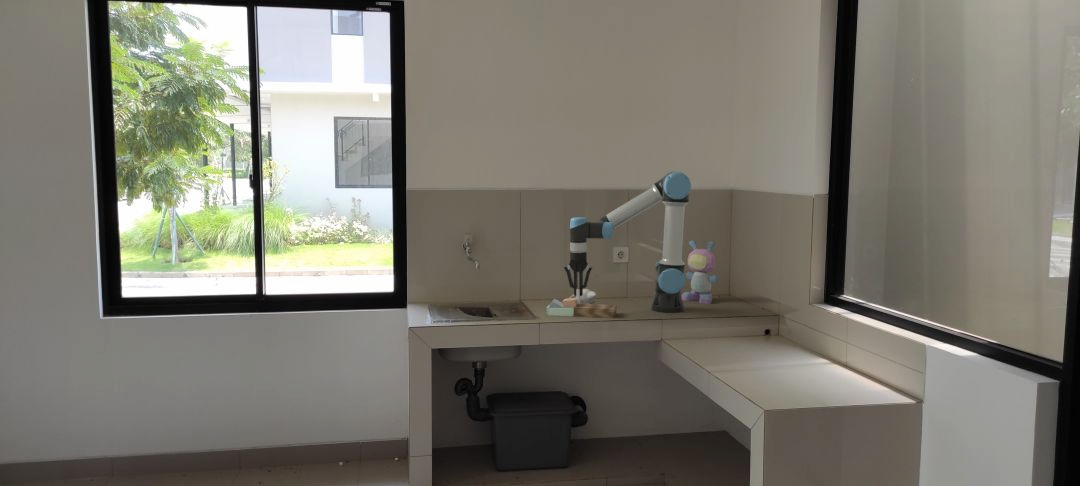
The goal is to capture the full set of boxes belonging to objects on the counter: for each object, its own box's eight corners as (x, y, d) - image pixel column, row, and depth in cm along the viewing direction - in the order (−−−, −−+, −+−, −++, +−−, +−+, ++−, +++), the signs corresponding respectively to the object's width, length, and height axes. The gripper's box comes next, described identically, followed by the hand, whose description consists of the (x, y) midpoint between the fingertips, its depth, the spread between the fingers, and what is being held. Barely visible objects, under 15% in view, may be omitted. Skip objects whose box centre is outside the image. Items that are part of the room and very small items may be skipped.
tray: (578, 311, 365) (578, 303, 365) (573, 316, 353) (573, 309, 352) (552, 310, 368) (552, 302, 368) (545, 315, 356) (545, 307, 355)
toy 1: (575, 312, 384) (572, 311, 369) (569, 296, 385) (566, 294, 370) (600, 303, 382) (598, 302, 368) (594, 286, 384) (592, 284, 369)
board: (616, 313, 360) (616, 304, 359) (613, 317, 350) (613, 309, 350) (577, 311, 364) (577, 303, 363) (573, 316, 354) (573, 307, 354)
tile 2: (578, 303, 361) (577, 297, 361) (576, 306, 356) (575, 299, 355) (565, 305, 363) (565, 298, 363) (563, 307, 357) (562, 301, 357)
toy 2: (678, 299, 395) (679, 240, 391) (691, 296, 402) (692, 238, 399) (708, 304, 381) (710, 243, 378) (721, 301, 389) (723, 241, 386)
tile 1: (554, 298, 363) (551, 303, 364) (552, 300, 358) (548, 306, 358) (565, 305, 363) (562, 310, 363) (563, 307, 357) (560, 313, 357)
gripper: (593, 250, 358) (593, 301, 360) (566, 250, 361) (566, 300, 363) (591, 252, 350) (591, 304, 353) (562, 252, 353) (562, 303, 356)
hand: (578, 302), depth 358 cm, fingers closed
